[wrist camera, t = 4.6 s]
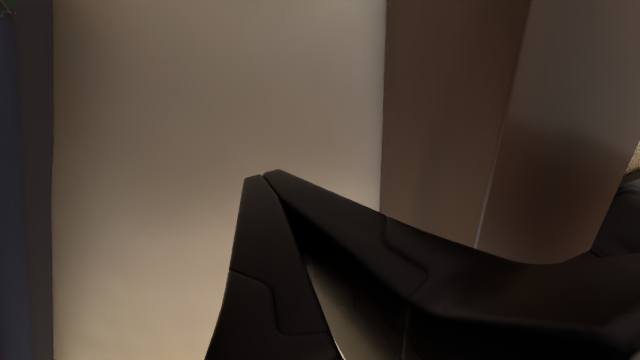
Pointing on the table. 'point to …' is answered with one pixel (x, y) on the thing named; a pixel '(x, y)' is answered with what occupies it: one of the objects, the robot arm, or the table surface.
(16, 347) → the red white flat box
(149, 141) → the table surface
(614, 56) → the walnut block
